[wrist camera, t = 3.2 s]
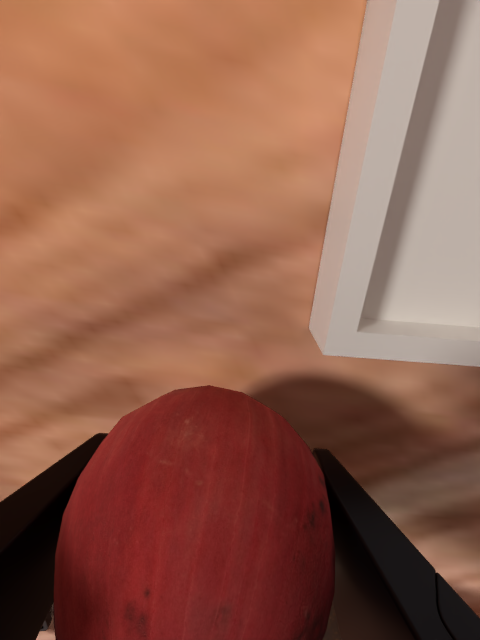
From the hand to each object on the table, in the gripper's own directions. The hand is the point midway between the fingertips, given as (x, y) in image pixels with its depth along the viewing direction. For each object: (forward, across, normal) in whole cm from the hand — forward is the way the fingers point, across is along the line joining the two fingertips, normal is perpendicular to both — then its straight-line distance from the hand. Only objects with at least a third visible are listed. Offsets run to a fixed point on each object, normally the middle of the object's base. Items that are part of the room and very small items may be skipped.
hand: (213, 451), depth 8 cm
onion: (+2, 0, 0) cm, 2 cm away
